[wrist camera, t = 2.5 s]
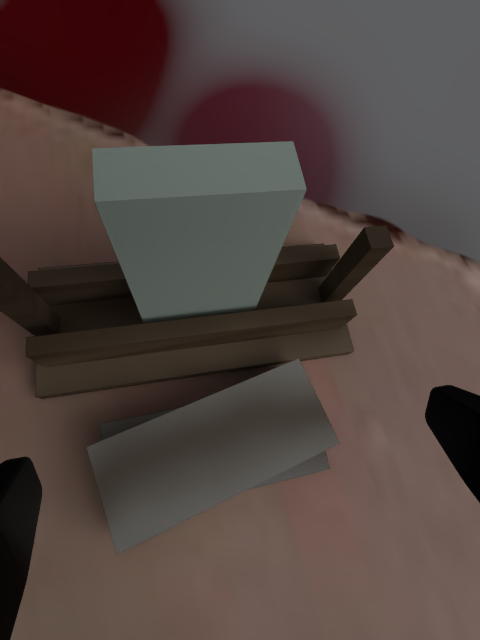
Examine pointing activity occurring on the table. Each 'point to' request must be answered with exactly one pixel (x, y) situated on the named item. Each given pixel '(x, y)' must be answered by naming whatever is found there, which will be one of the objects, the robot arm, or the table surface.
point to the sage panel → (197, 222)
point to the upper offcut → (207, 452)
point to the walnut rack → (184, 321)
